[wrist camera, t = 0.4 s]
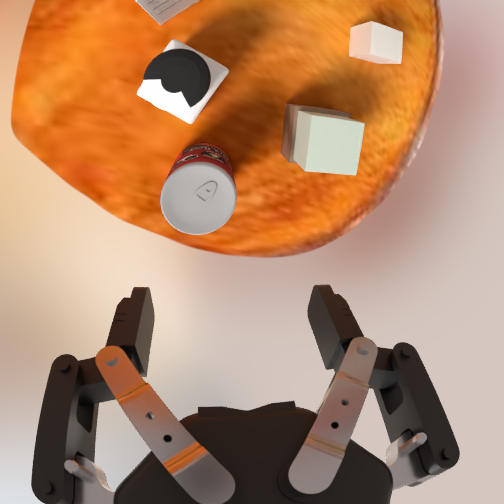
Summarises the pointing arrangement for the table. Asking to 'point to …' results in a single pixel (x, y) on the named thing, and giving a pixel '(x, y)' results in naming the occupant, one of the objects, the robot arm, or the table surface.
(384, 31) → the cream block
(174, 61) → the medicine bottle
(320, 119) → the sage block
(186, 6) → the supplement box
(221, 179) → the canned food
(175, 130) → the table surface
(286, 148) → the walnut base block
